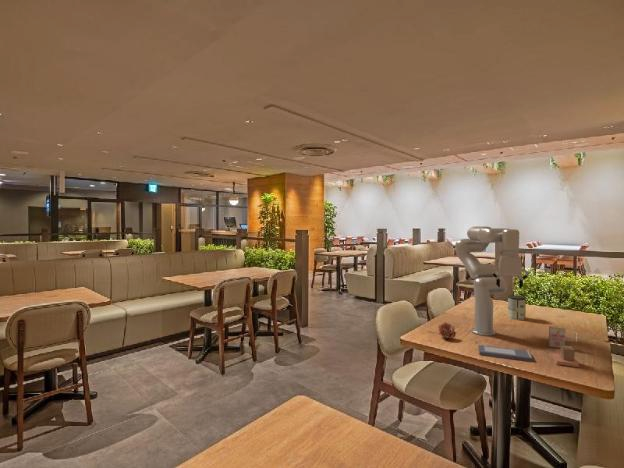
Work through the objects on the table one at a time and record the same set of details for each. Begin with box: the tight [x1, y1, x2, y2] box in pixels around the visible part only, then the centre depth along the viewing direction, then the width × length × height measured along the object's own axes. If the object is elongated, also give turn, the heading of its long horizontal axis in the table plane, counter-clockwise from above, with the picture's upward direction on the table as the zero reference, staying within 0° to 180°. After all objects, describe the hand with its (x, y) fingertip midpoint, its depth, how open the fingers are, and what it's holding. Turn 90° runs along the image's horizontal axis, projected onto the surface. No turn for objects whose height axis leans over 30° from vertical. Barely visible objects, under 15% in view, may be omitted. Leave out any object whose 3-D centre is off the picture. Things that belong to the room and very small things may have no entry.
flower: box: [438, 321, 457, 340], centre depth 195 cm, size 10×9×8 cm
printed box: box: [548, 326, 566, 349], centre depth 182 cm, size 4×7×10 cm, turn 54°
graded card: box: [565, 330, 578, 343], centre depth 200 cm, size 11×1×18 cm
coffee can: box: [507, 294, 527, 321], centre depth 235 cm, size 10×10×14 cm
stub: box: [551, 345, 580, 368], centre depth 162 cm, size 10×8×6 cm
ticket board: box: [477, 344, 534, 363], centre depth 172 cm, size 10×22×2 cm, turn 68°
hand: (509, 287), depth 181 cm, fingers open, 9 cm apart
